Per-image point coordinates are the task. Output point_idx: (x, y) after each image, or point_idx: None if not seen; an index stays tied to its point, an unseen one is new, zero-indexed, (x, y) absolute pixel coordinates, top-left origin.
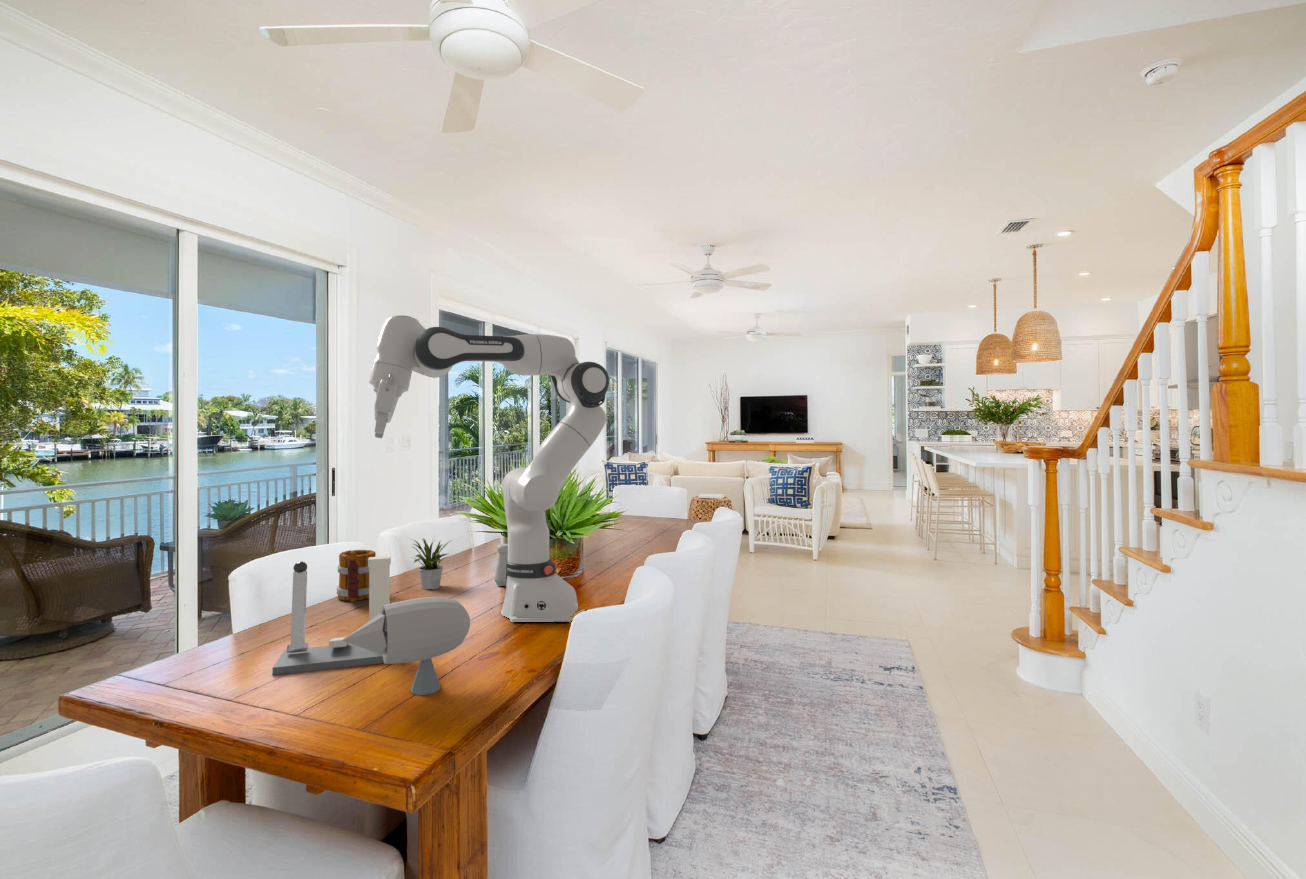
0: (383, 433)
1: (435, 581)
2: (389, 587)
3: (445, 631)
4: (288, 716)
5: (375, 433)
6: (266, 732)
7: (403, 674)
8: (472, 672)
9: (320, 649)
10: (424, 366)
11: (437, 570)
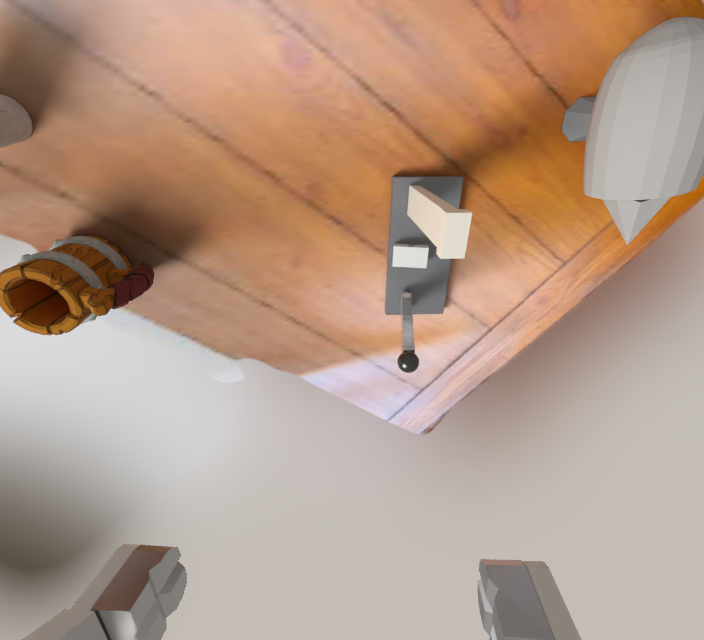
0: (95, 586)
1: (10, 104)
2: (433, 201)
3: None
4: (563, 270)
5: (165, 615)
6: (587, 281)
7: (515, 155)
8: (565, 37)
9: (400, 275)
10: None
11: None
